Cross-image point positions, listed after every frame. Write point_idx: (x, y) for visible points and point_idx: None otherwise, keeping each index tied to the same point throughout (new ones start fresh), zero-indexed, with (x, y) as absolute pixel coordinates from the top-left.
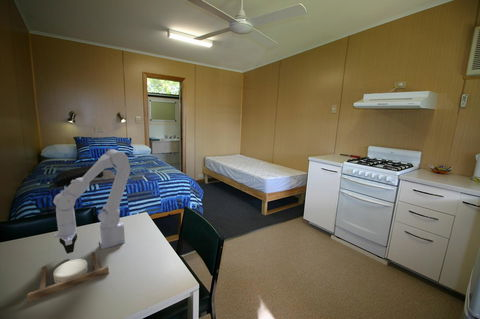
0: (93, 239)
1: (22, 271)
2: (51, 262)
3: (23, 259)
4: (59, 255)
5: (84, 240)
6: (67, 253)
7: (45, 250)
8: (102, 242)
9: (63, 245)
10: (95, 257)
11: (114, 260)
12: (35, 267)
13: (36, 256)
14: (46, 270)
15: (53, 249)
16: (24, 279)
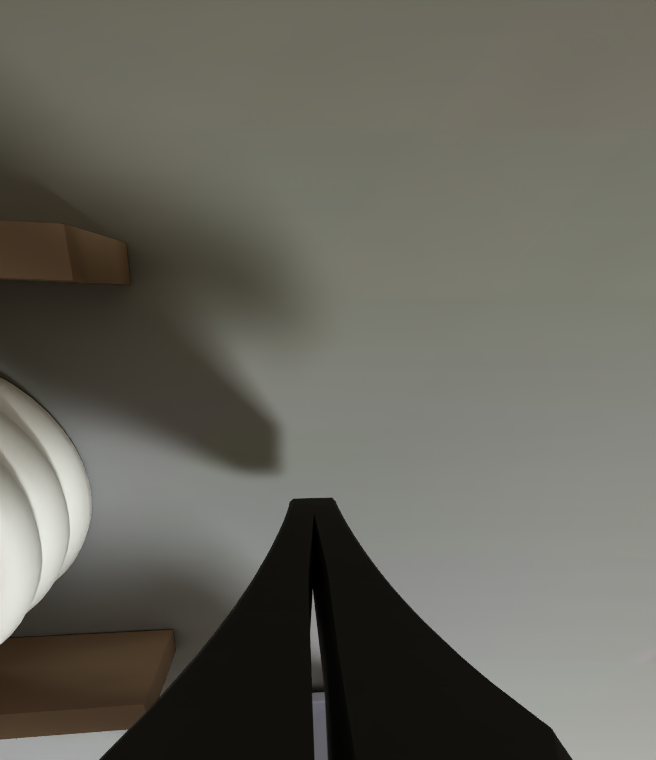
0: (505, 643)
1: (305, 11)
2: (313, 324)
3: (616, 23)
4: (412, 395)
5: (546, 585)
6: (290, 503)
7: (636, 269)
8: (326, 755)
9: (204, 650)
10: (3, 733)
11: (29, 752)
12: (308, 164)
13: (571, 176)
14: (2, 278)
15: (591, 344)
16: (81, 36)
